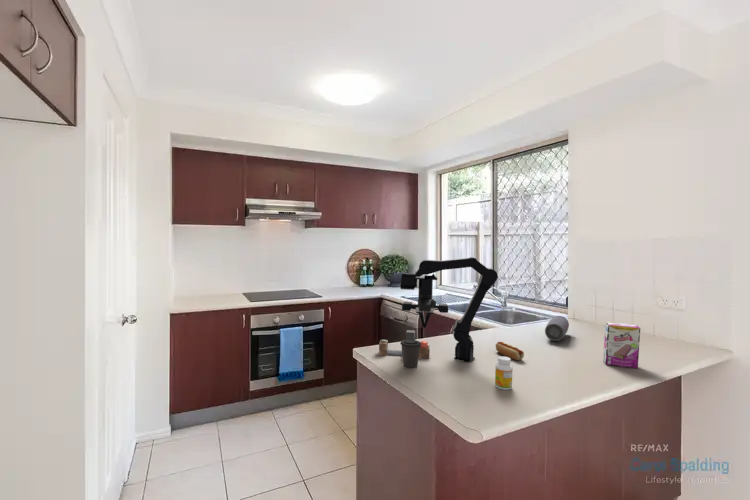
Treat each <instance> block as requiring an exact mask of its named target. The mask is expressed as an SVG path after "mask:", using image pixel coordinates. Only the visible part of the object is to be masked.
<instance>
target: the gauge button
mask: <svg viewBox="0 0 750 500" xmlns="http://www.w3.org/2000/svg"><path fill="white" fill-rule="evenodd" d="M420 343H421V346H420V348H427V349H428V345H429V344H428V341H426V340H421V341H420Z"/></svg>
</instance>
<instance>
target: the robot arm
mask: <svg viewBox="0 0 750 500" xmlns="http://www.w3.org/2000/svg"><path fill="white" fill-rule="evenodd" d="M465 268H471V269H473V270H475V271H476V272H477V273H478V274H479V278H478V283H477V287H476V289H475V291H474V293H473V295H472V297H471V300H469V303H468V305H467V308H466V309H465V311H464V313H463V315H462V316H461V318H460V319H458V318H456V320H455V322H454V325H452V335H453V338H454V340H455V341H456V344H455V346H454V357H453V359H454V360H457V361H460V362H464V363H470V362H472V361H474V360H475V359H476V358H475V356H474V350H475V349H474V346H475V345H474V340H473V338H472V336H471V334H470V333H471V332H470V331H471V328H472V323H473V320H474V319H475V317H476V315H477V313H478V310H479V309H480V306H481V304H482V302H483V300H484V298H485V297H486V294H487V292H488V291H489V290H490V289H491V288H492V287H493V286H494V284H495V283H496V282H497V280H498V278H499V275H498V272H497V271H496V270H494V269H493V268H491V267H486V266H485V264H483V263H481V262H480V261H479V260H478V259H477V258H475V257H474V256H470V257H464V258H456V259H455V258H454V259H446V260H436V259H435V260H434V259H423V260H422V261H420V263H419V265H418V269H417V271H415V273H406V272H402V273H401V276H400V277H401V278H400V290H409V291H414V290H415V289H416V288H418V296H417V297H418V298H417V303H415V304H414V303H413V301H403V302H402V304H401V311H406V312H408V311H409V312H410V311H411V310H412V309H413V310H414V309H415V313H416V314H418V316H419V317H420V320H421V324H422V327H423V329H426V327H427V324H428V321H429V319H430V317H431V316H432V315H434V313H435V311H438V312H439V313H440V314H444V313H445V314H448V313H449V305H448V304H447V303H438V305H436V303H437V300H436V298H433V290H434V289H433V287H434V286H433V284H434V283H433V282H434V281H437V280H438V277H437V276H436V275H435V273H437V272H440V271H444V270H446V271H447V270H455V269H457V270H458V269H465ZM431 274H432V275H431ZM423 275H424V276H423ZM422 276H423V277H422ZM424 312H426V314H425V313H424Z"/></svg>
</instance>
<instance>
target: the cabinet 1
mask: <svg viewBox="0 0 750 500" xmlns="http://www.w3.org/2000/svg"><path fill="white" fill-rule="evenodd" d="M388 345H389V341H388V339H380V340H379V344H378V347H379V348H378V355H379V356H384V357H385V356H387V355H388V354H387V349H388V348H389V346H388ZM388 350H389V349H388Z"/></svg>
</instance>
